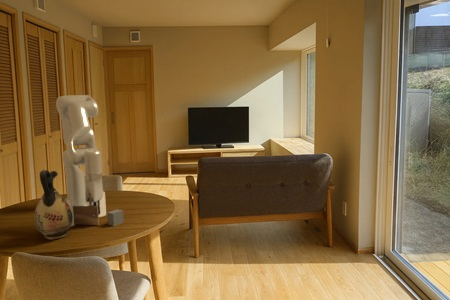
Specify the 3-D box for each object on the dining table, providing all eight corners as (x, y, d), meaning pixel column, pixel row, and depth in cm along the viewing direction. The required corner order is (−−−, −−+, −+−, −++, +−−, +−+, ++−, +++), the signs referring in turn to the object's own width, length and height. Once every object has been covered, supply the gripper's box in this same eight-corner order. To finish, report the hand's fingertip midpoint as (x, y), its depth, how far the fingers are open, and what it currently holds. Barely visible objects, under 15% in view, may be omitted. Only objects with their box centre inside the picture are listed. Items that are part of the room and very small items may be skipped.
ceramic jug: (44, 230, 196) (38, 165, 192) (78, 229, 196) (73, 164, 192) (28, 244, 179) (21, 173, 175) (65, 243, 179) (59, 172, 175)
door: (74, 223, 205) (72, 205, 203) (99, 223, 203) (98, 206, 201) (70, 225, 202) (69, 207, 200) (96, 226, 200) (95, 208, 198)
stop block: (108, 224, 202) (107, 212, 202) (117, 221, 207) (117, 209, 206) (113, 226, 200) (113, 213, 199) (123, 222, 205) (122, 210, 204)
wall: (62, 227, 200) (59, 202, 198) (103, 214, 219) (101, 191, 217) (65, 228, 198) (63, 203, 196) (106, 215, 218) (105, 191, 216)
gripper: (93, 173, 210) (95, 210, 213) (78, 180, 196) (81, 219, 198) (108, 173, 209) (110, 210, 212) (94, 180, 195) (97, 219, 197)
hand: (96, 214), depth 205 cm, fingers closed
